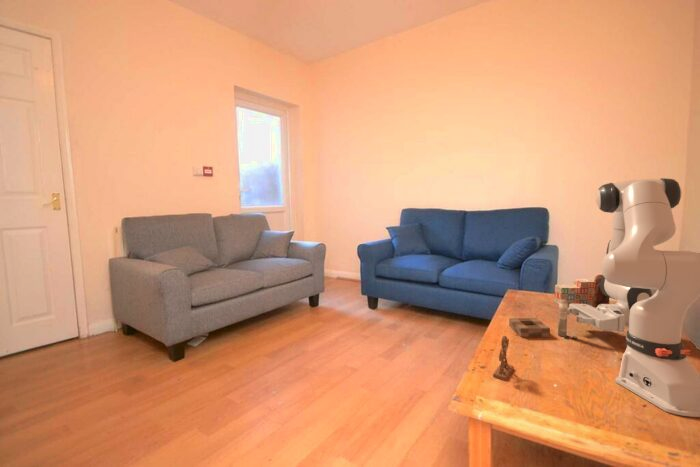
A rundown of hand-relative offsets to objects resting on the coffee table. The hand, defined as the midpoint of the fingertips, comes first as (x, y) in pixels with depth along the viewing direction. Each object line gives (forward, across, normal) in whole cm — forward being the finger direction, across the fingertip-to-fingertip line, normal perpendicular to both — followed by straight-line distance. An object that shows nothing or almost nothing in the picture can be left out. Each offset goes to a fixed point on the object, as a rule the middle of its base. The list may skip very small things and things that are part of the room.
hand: (570, 315), depth 130 cm
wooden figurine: (-27, -24, +8) cm, 37 cm away
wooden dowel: (+3, 0, +8) cm, 8 cm away
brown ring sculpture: (+36, +28, +8) cm, 47 cm away
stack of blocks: (-27, -38, +8) cm, 47 cm away
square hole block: (+14, -4, +8) cm, 16 cm away
